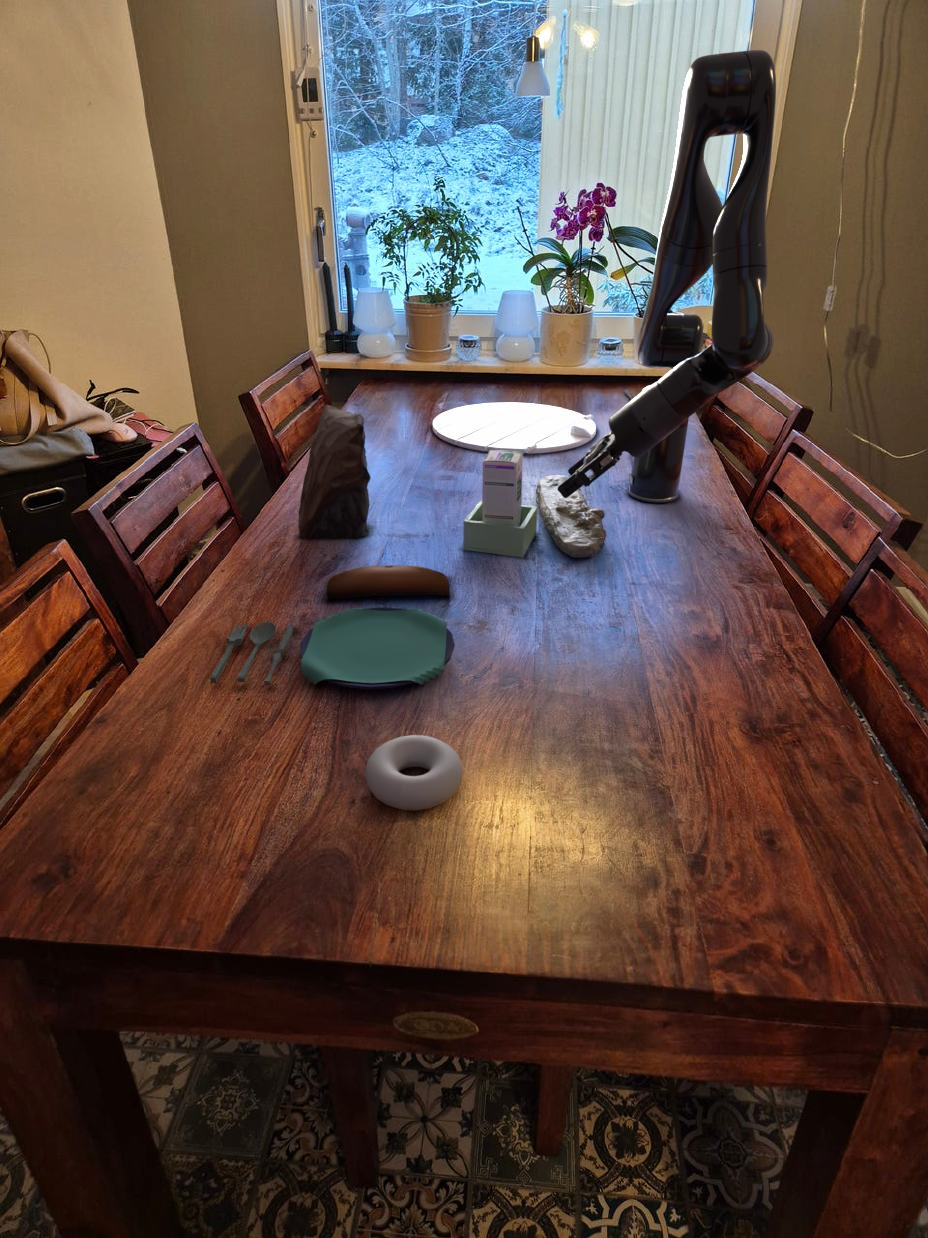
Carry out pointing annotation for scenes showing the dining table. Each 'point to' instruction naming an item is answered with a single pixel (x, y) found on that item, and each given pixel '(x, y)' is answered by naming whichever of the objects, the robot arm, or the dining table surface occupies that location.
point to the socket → (499, 533)
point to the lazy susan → (514, 427)
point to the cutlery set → (359, 648)
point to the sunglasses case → (387, 582)
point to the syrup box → (502, 487)
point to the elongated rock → (570, 519)
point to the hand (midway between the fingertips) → (566, 483)
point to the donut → (414, 788)
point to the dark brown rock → (336, 479)
